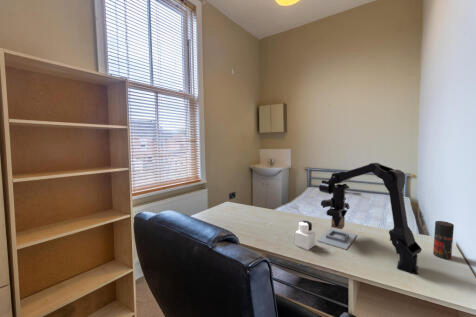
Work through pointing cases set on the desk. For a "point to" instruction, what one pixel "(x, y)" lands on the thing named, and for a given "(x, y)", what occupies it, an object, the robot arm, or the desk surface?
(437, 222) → the deodorant
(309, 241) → the medicine bottle
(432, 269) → the desk surface
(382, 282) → the desk surface
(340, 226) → the walnut block
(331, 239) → the base
